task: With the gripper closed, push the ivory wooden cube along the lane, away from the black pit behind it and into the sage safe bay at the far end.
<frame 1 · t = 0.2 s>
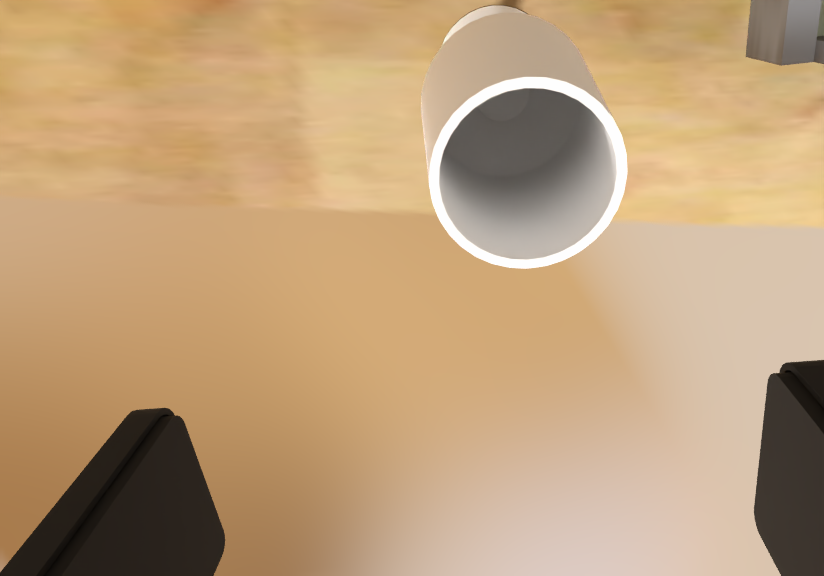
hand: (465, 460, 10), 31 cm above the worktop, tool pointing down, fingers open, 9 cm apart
champagne flute: (494, 67, 37), on the worktop
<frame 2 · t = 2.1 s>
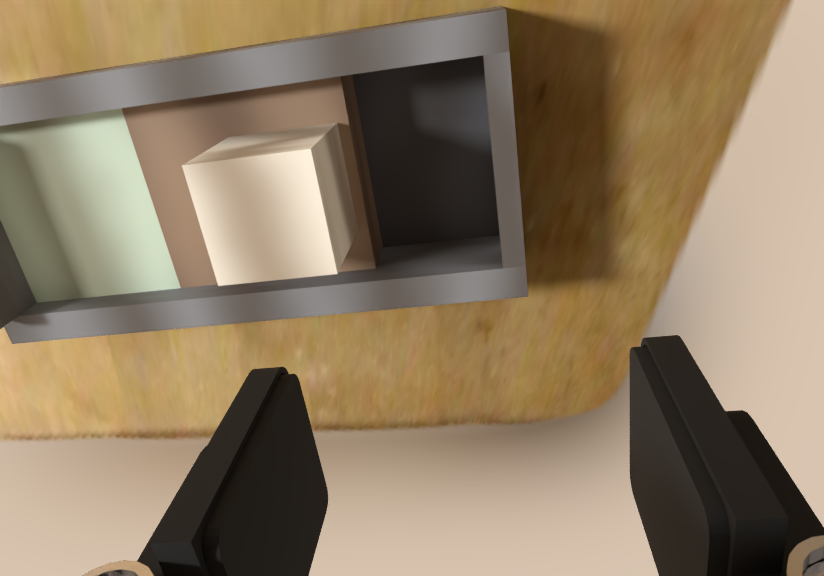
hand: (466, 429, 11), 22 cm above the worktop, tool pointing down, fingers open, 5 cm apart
block: (294, 184, 29), point 3 cm above the worktop, touching lane
lane: (253, 175, 32), on the worktop
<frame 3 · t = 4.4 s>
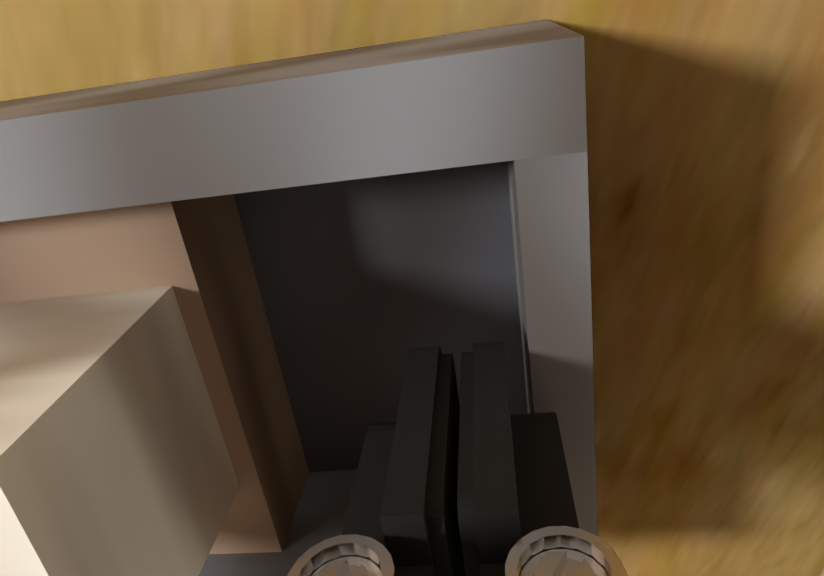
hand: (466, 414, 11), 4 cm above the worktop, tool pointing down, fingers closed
block: (97, 402, 13), point 3 cm above the worktop, touching lane
lane: (54, 342, 16), on the worktop
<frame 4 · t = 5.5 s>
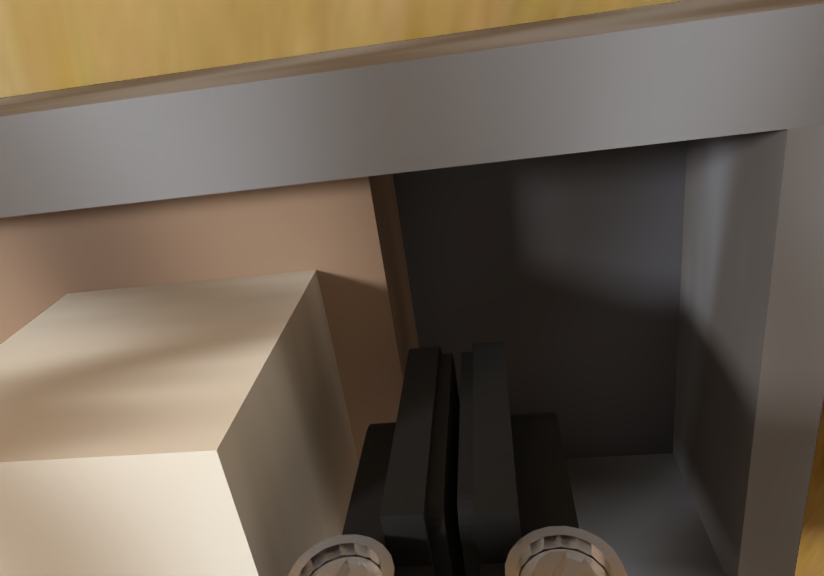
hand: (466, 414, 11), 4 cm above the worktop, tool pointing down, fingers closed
block: (223, 392, 13), point 3 cm above the worktop, touching gripper
lane: (181, 328, 16), on the worktop
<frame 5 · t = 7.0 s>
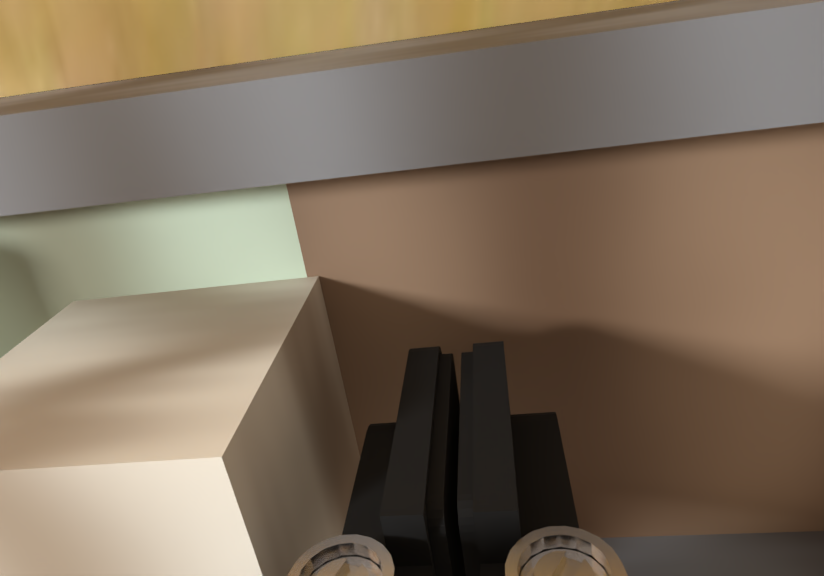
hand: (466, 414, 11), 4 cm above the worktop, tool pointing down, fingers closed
block: (227, 397, 13), point 3 cm above the worktop, touching gripper
lane: (521, 299, 15), on the worktop
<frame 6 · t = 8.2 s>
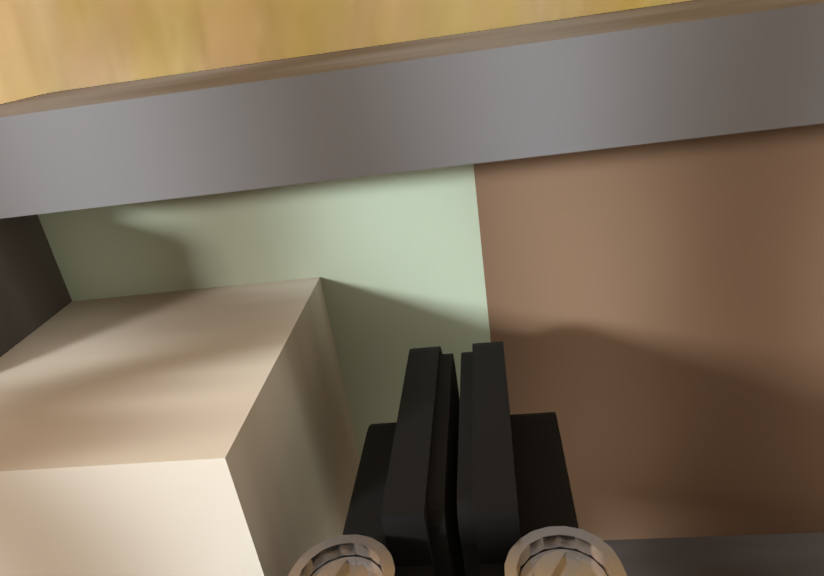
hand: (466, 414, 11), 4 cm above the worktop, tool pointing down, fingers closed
block: (226, 398, 13), point 3 cm above the worktop, touching gripper, lane
lane: (664, 288, 14), on the worktop
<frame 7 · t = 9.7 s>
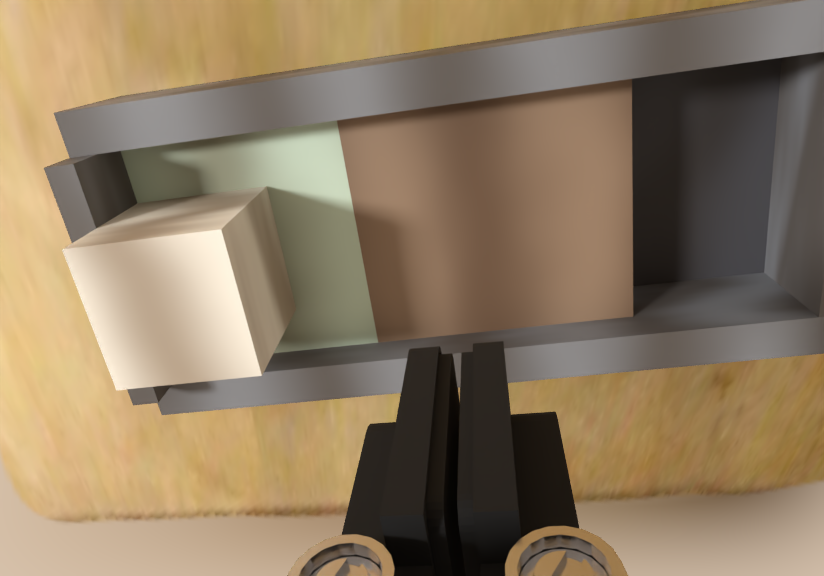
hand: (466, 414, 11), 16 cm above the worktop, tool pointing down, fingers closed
block: (219, 257, 24), point 3 cm above the worktop, touching lane
lane: (463, 201, 26), on the worktop
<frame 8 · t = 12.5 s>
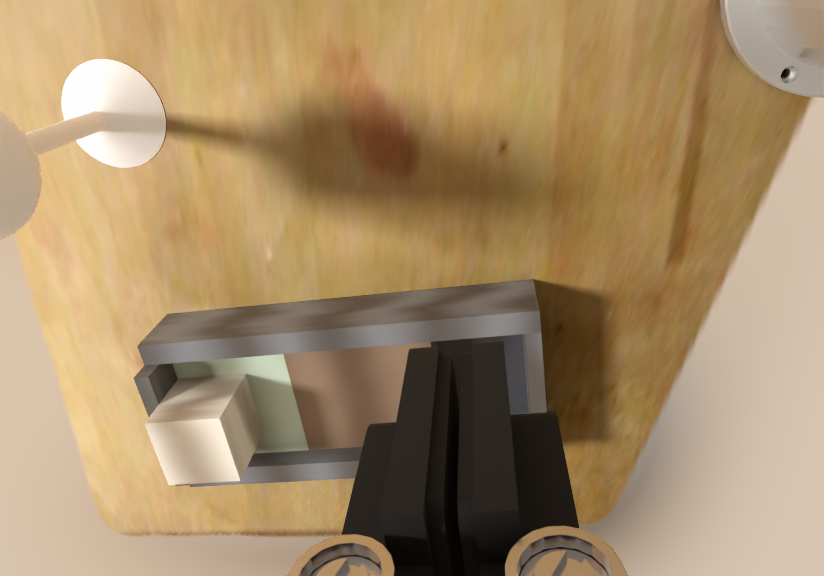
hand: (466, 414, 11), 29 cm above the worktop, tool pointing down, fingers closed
champagne flute: (115, 114, 39), on the worktop
block: (221, 406, 45), point 3 cm above the worktop, touching lane
lane: (358, 370, 46), on the worktop
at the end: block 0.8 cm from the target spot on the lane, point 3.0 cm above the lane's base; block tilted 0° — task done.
